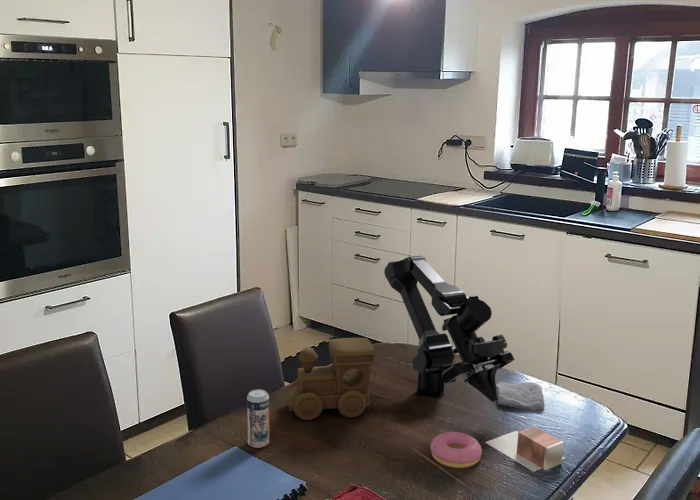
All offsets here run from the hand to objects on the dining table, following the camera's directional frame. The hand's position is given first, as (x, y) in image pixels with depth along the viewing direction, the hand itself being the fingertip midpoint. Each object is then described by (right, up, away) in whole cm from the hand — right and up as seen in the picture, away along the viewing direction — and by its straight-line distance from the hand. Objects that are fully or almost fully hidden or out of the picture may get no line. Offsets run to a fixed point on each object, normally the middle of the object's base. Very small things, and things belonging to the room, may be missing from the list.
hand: (495, 401), depth 157 cm
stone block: (+10, -5, +17) cm, 20 cm away
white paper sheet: (+5, -10, -6) cm, 12 cm away
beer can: (-53, -8, -5) cm, 54 cm away
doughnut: (-10, -10, -9) cm, 17 cm away
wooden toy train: (-38, -5, +11) cm, 40 cm away
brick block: (+5, -7, -7) cm, 11 cm away
